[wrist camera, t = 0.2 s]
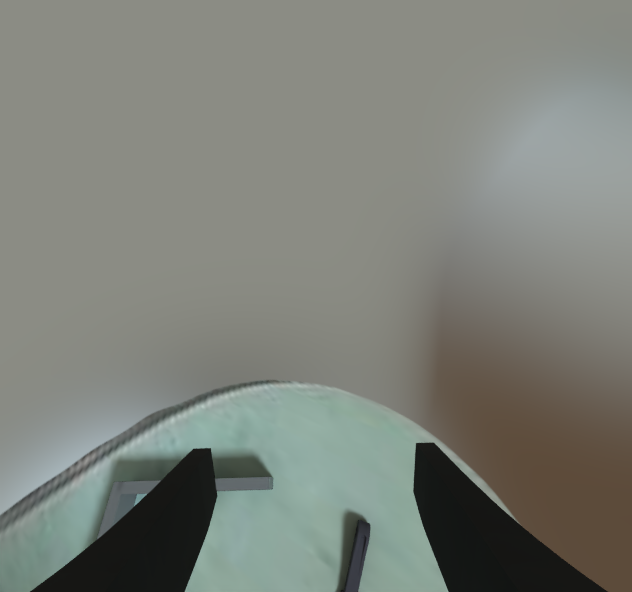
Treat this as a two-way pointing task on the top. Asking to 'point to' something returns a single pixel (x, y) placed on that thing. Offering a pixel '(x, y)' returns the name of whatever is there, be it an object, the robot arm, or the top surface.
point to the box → (128, 490)
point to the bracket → (357, 556)
